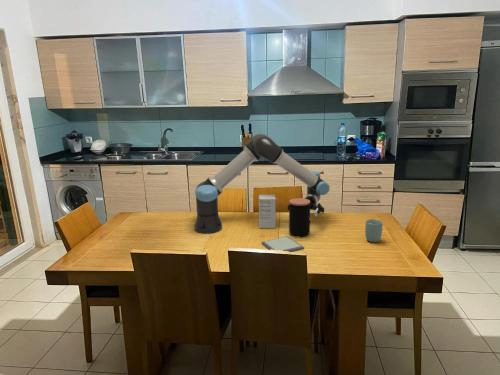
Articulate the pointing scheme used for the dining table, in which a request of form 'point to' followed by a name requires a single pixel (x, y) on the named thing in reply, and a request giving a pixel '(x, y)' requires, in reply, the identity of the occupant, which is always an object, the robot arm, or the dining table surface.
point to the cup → (373, 230)
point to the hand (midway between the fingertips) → (302, 213)
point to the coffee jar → (299, 217)
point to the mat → (282, 244)
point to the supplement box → (267, 211)
